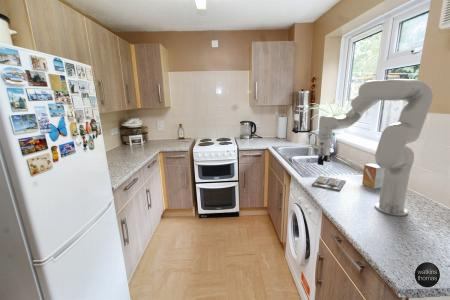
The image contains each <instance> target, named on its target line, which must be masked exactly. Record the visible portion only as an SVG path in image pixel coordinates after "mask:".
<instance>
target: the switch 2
mask: <svg viewBox="0 0 450 300" xmlns="http://www.w3.org/2000/svg"><path fill="white" fill-rule="evenodd" d="M330 178H331V184H330V186H334V187H336V185H337V184H336V181H337V179H338V177H335V176H331V177H330Z"/></svg>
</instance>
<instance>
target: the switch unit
mask: <svg viewBox="0 0 450 300" xmlns="http://www.w3.org/2000/svg"><path fill="white" fill-rule="evenodd" d="M331 178H332V177H326V176H324V184H318V182H319V176H318V177H317V178H316V179H315V180H314V182H312V183H311V187H316V188H320V189H325V190H329V191H335V192H341V190H342V188H343V187H344V185H345V184H346V180H345V179H344V180H343V179H338V178H337V181H336V184H337V185H336V187H334V186H330V184H331Z"/></svg>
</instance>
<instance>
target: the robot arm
mask: <svg viewBox="0 0 450 300" xmlns="http://www.w3.org/2000/svg"><path fill="white" fill-rule="evenodd" d="M380 101H406V103H404V106H403V107H402V110H401V112H400V115H399V118H398V120H397V122H394V123H392V124H388V126H386V127H385V128H384V129H383V131H382V132H381V135H380V138H379V141H378V145H377V147H376V151H375V154H374V161H375V164H376V165H378V166H380V167H381V168H384V171H383V177H382V184H381V187H380V194H379V200H378V202H376V203H375V204H374V207H375V209H376V210H378V211H380V212H381V213H383V214H387V215H390V216H395V217H396V216H397V217H404V216H407V215H408V214H409V210H408V208H406V207H405V203H406V197H407V191H408V184H409V180H410V174H411V171H412V170H411V169H412V167H413V164H414V161H415V153H414V150H413V149H412V148H410V147H409V146H408V145H407V144H411V143H414V142H416V141H418V139H419V137H420V135H421V132H422V130H423V127H424V124H425V122H426V119H427V116H428V113H429V111H430V108H431V105H432V102H433V90H432V89H431V87H430V86H429V85H428V84H426V83H425V82H424V81H422V80H419V79H414V78H413V79H412V78H409V79H407V78H397V79H396V78H395V79H394V78H393V79H381V80H378V79H377V80H367V81H365V82H364V83H362V84H361V85H360V87H359V88H358V95H357V96H356V97H355V98H353V99H352V100H351V101H350V106H351V109H350V110H349V111H347V112H346V113H345V114H344V115H336V116H333V115H321V116H320V117H319V121H318V133H317V135H318V136H317V139H319V140H318V148H317V154H318V157H317V165H319V166H323V165H324V163H325V162H328V159H329V154H330V153H331V140H332V136H333V130H335V131H336V130H344V129H348V128H350V127H352V126H353V125H354V124H356V123H357V122H358V121H359V120H361V118H362V117H363V115H364V113H365V112H367V111H368V110H369V109H371V108H372V107H374V106H375V105H376V104H377V103H378V102H380Z"/></svg>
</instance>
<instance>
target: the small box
mask: <svg viewBox="0 0 450 300" xmlns="http://www.w3.org/2000/svg"><path fill="white" fill-rule="evenodd" d="M383 171H384V168H381V167H380V166H378V165H377V164H376V163H365V164H364V167H363V175H362V185H363V186H366V187H369V188H372V189H373V190H374V189H379V188H380V189H381V184H382V177H383Z"/></svg>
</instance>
